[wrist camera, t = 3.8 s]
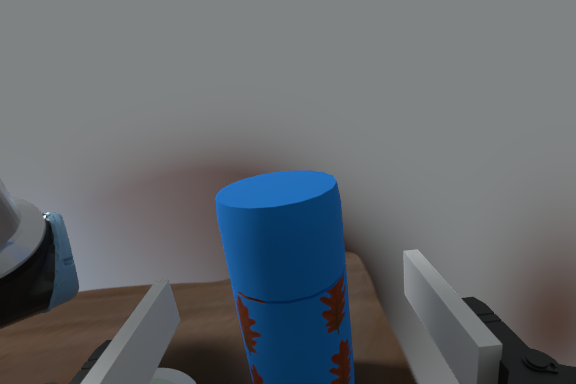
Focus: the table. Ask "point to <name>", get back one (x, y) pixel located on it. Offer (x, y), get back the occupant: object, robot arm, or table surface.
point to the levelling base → (171, 377)
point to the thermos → (289, 276)
